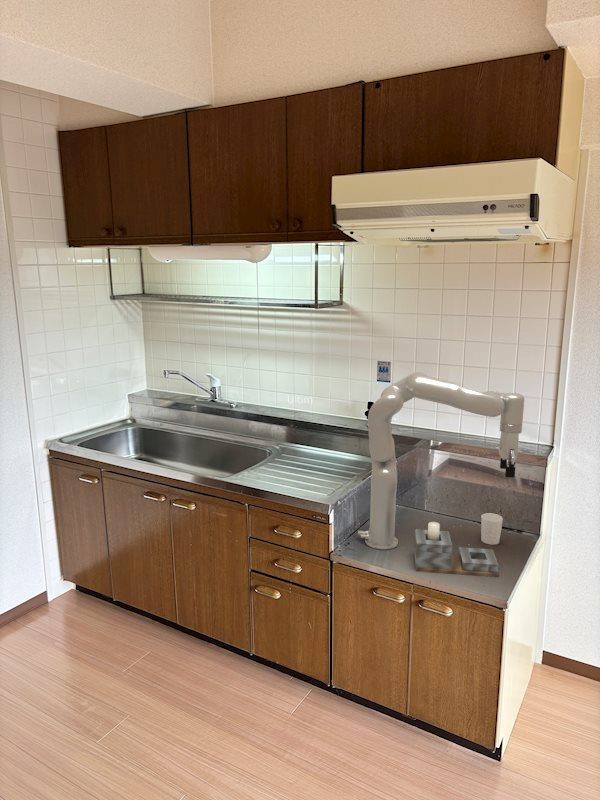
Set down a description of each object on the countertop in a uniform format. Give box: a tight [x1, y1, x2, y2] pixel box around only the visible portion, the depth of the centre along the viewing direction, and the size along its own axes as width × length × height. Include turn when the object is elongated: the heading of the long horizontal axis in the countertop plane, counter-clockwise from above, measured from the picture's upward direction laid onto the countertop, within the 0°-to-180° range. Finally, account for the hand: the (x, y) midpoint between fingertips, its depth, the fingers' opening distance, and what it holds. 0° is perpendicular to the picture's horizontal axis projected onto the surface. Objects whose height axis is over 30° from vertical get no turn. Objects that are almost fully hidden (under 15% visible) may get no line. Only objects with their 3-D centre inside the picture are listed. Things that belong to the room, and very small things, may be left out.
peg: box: [427, 521, 441, 541], centre depth 218 cm, size 4×4×8 cm
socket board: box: [413, 528, 499, 578], centre depth 218 cm, size 28×14×10 cm, turn 82°
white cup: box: [480, 512, 504, 546], centre depth 237 cm, size 8×8×10 cm
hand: (507, 472), depth 223 cm, fingers open, 9 cm apart
